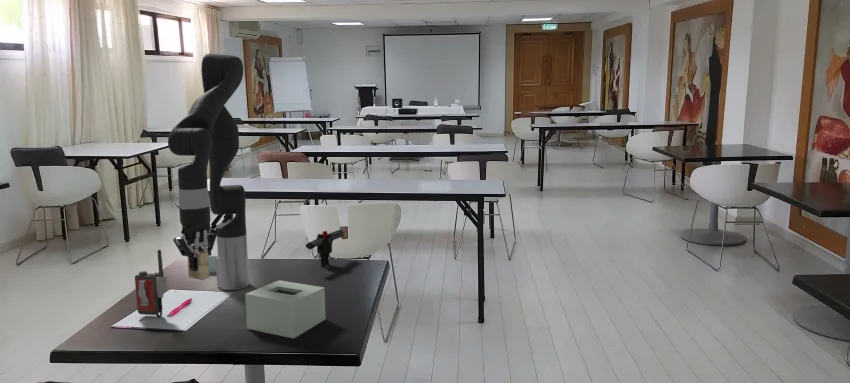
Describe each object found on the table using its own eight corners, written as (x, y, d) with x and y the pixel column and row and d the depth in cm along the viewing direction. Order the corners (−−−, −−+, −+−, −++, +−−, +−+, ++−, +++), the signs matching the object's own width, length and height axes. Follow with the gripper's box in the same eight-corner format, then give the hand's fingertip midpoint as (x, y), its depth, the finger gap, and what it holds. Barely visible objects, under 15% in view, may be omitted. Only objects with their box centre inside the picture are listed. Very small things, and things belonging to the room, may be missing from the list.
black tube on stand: (347, 266, 234) (346, 226, 232) (316, 280, 217) (315, 237, 214) (335, 264, 236) (333, 225, 234) (304, 278, 219) (302, 236, 217)
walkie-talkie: (170, 316, 183) (165, 248, 180) (161, 321, 179) (156, 252, 176) (143, 314, 185) (137, 247, 182) (133, 319, 180) (127, 251, 177)
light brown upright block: (188, 277, 168) (187, 251, 167) (195, 274, 170) (194, 249, 169) (202, 280, 166) (201, 254, 164) (209, 277, 168) (208, 252, 167)
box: (247, 329, 172) (245, 293, 171) (280, 313, 185) (279, 280, 183) (294, 339, 165) (292, 302, 164) (325, 321, 177) (324, 287, 176)
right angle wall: (234, 267, 234) (233, 247, 233) (225, 276, 222) (224, 256, 221) (202, 267, 234) (200, 248, 232) (191, 277, 222) (189, 256, 221)
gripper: (204, 199, 172) (207, 261, 175) (162, 208, 160) (167, 274, 163) (224, 201, 169) (228, 264, 172) (183, 211, 157) (188, 278, 160)
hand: (198, 269), depth 167 cm, fingers closed on light brown upright block, 2 cm apart
